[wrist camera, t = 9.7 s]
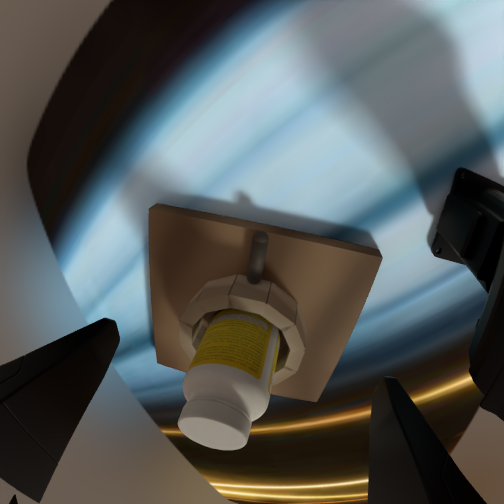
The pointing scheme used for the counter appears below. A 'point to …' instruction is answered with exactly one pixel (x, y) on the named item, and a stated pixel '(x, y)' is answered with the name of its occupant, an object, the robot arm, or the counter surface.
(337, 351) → the dock
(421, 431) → the robot arm
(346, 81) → the counter surface
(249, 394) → the supplement bottle
